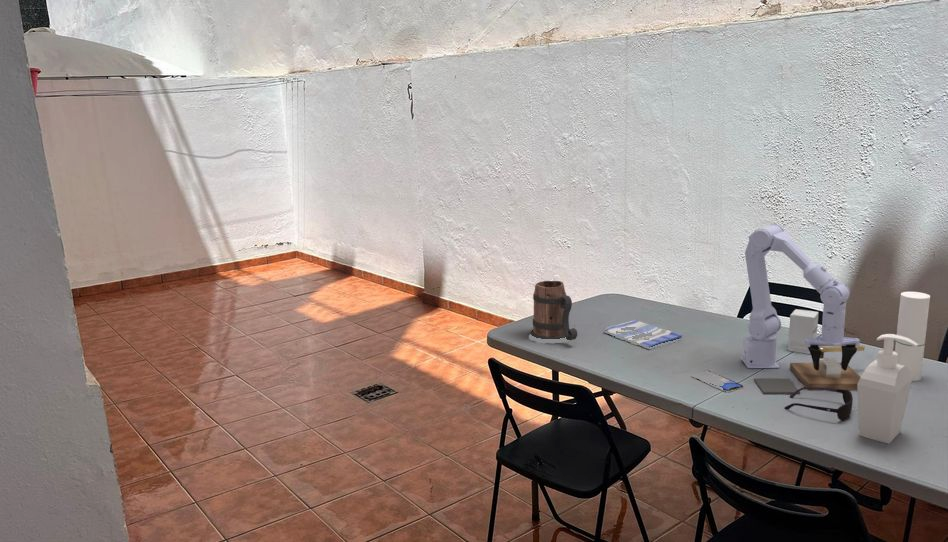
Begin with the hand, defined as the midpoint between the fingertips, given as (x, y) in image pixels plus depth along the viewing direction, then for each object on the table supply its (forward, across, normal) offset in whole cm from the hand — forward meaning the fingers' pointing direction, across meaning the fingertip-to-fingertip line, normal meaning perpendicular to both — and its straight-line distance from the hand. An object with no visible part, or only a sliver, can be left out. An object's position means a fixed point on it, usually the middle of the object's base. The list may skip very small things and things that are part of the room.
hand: (829, 369), depth 204 cm
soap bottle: (+4, +1, -33) cm, 34 cm away
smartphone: (+4, -32, 0) cm, 32 cm away
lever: (-3, +6, +8) cm, 10 cm away
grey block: (+2, 0, 0) cm, 2 cm away
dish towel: (+4, -49, +41) cm, 64 cm away
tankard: (+4, -80, +39) cm, 89 cm away
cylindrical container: (+4, +23, +4) cm, 24 cm away
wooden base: (+4, 0, +2) cm, 4 cm away
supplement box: (+4, +1, +27) cm, 27 cm away
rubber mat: (+4, -16, -4) cm, 17 cm away
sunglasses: (+4, -9, -19) cm, 21 cm away
